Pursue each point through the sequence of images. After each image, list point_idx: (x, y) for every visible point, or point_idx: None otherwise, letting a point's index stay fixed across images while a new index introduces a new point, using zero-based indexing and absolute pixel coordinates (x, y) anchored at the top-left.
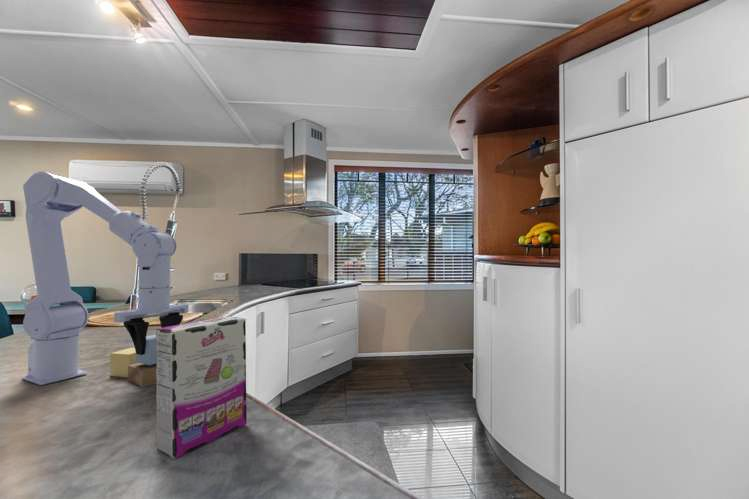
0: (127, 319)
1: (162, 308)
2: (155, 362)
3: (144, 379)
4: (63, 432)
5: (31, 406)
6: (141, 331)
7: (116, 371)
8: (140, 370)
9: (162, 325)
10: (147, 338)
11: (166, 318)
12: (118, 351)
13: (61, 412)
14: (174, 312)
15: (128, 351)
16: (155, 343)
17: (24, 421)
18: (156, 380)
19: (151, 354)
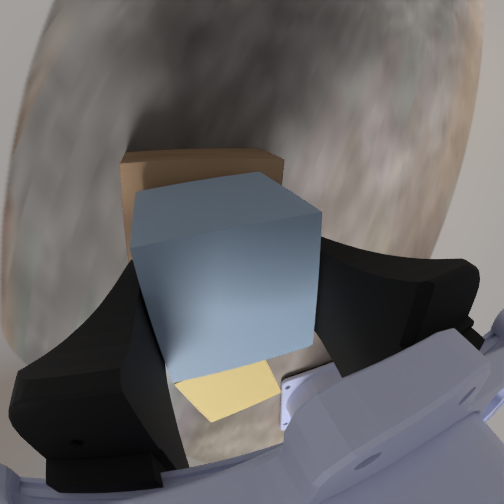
0: (486, 344)
1: (403, 465)
2: (232, 177)
3: (263, 152)
4: (446, 41)
5: (420, 234)
6: (399, 263)
7: None
8: (280, 181)
9: (172, 416)
10: (290, 295)
11: (168, 445)
12: (257, 400)
13: (422, 143)
14: (95, 494)
15: (240, 385)
16: (272, 206)
17: (451, 158)
18: (213, 150)
19: (269, 185)
